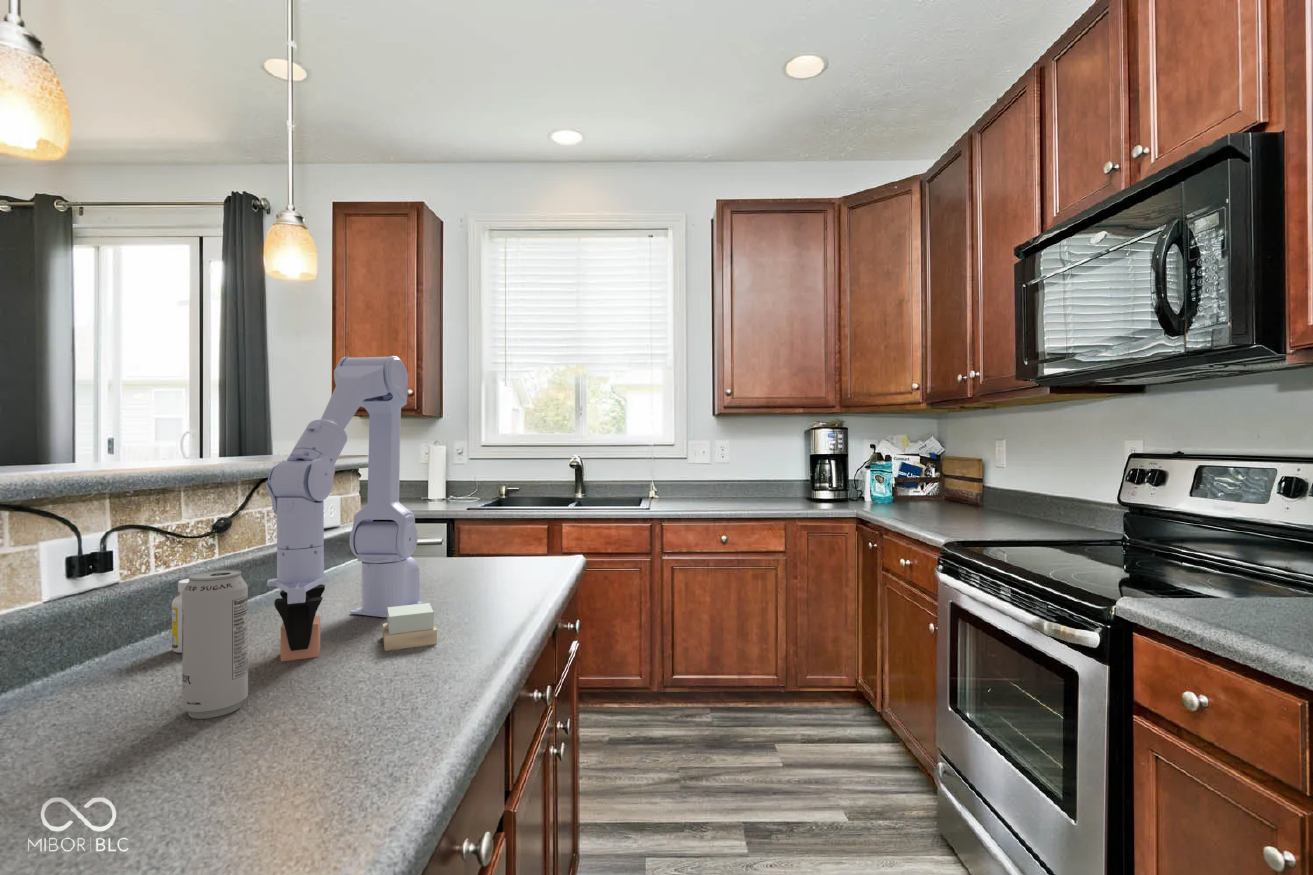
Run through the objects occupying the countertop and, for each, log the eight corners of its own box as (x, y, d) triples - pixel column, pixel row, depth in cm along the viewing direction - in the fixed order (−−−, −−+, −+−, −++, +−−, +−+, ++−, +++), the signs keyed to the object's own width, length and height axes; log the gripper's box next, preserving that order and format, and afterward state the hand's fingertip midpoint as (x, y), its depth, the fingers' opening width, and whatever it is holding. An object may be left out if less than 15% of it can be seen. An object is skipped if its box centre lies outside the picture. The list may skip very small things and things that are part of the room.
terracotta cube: (284, 651, 91) (284, 619, 91) (320, 647, 93) (320, 615, 93) (280, 661, 87) (280, 628, 87) (318, 656, 89) (318, 623, 89)
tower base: (383, 640, 98) (382, 623, 98) (431, 633, 101) (431, 617, 101) (384, 653, 91) (384, 636, 91) (436, 646, 94) (436, 629, 94)
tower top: (387, 623, 97) (387, 607, 97) (429, 619, 100) (429, 602, 100) (389, 634, 92) (389, 616, 92) (433, 628, 94) (433, 611, 94)
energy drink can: (192, 702, 73) (191, 570, 73) (253, 695, 75) (253, 566, 76) (173, 724, 68) (173, 581, 68) (240, 715, 70) (240, 576, 70)
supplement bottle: (227, 642, 95) (226, 576, 96) (197, 654, 90) (197, 584, 90) (193, 641, 96) (192, 575, 96) (161, 653, 91) (161, 583, 91)
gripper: (273, 540, 95) (274, 633, 95) (259, 557, 82) (260, 664, 82) (327, 537, 98) (328, 627, 98) (322, 552, 85) (323, 656, 85)
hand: (301, 643), depth 90 cm, fingers closed on terracotta cube, 4 cm apart
